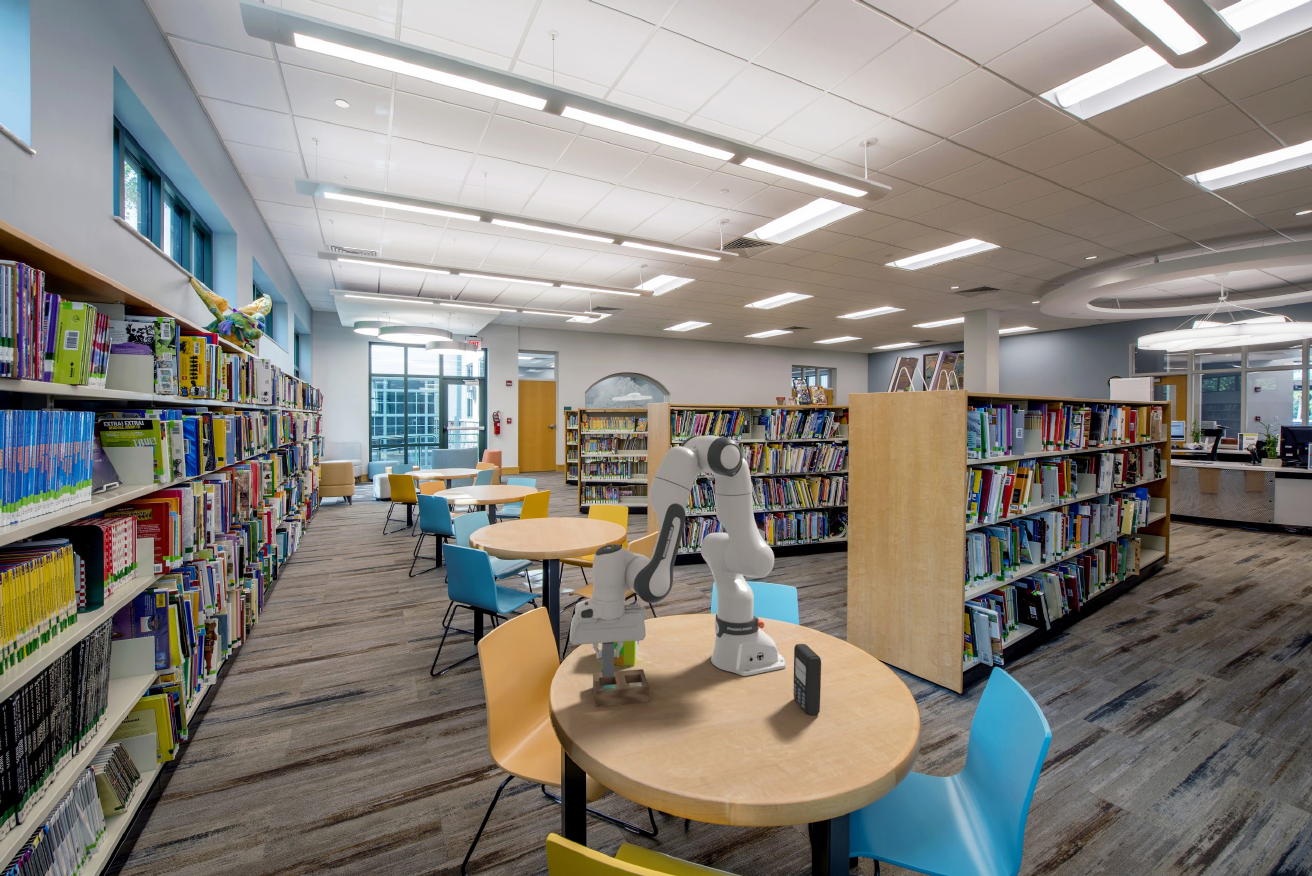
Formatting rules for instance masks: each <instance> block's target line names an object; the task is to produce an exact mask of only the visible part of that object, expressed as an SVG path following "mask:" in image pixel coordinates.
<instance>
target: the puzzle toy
mask: <svg viewBox="0 0 1312 876" xmlns="http://www.w3.org/2000/svg"><path fill="white" fill-rule="evenodd" d="M617 646H618V643H617V642H614V649H616V648H617ZM639 652H640V640H639V641H624V642H623V647H622V648H621V650H620V651H619V658H614V666H629V667H631V666H633V667H635V665H636V662H637V658H638V656H639Z"/></svg>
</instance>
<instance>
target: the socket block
mask: <svg viewBox="0 0 1312 876" xmlns="http://www.w3.org/2000/svg"><path fill="white" fill-rule="evenodd" d="M645 673H646V672H645V671H644V669H643V668H641V669H630V670H629V669H628V670H617V671H616V670H614V677H606V678H602V673H601V672H593V673H592V689H593V694H594V700H595V701H594V702H595V707H597V708H598V707H607V706H609V707H610V706H617V705H618V706H619V705H628V704H629V705H630V704H638V703H648V702H650V688H651V687H650V684H649V682H648V679H647V675H646V674H645Z"/></svg>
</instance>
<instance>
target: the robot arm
mask: <svg viewBox="0 0 1312 876" xmlns="http://www.w3.org/2000/svg"><path fill="white" fill-rule="evenodd" d="M742 452H743V451H742V450H741V447H740V445H739V444H738V443H737V442H736V441H735V440H734V439H732V438H730V437H726V436H718V435H709V434H708V435H693V436H690V437H687V438H686V439H685V440H684V441H682V443H681V444H680V446H679V445H677V446H676V445H675V446H673V447H671V448H669V449H668V450H667V452H666V453H665V455H664V456H663V459H661V462H660V464H659V465H658V467H657V470H656V472H655V474H654V476H653V480H652V482H651V484H650V488H649V491H648V492H649V493H648V502H649V506H650V507H651V508H652V510H653V511H654V513H655V516H656V518H657V520H658V526H659V527H658V533H657V536H656V538H655V539H656V540H655V544H654V546H653V550H652V553H651V557H650V558H649V557H648V556H646V555H644V554H641V553H636V552H633V551H630V550H628V549H626V548H625V547H623V546H622V545H620V544H618V543H617V544H616V543H615V544H607V545H604V546H601V547H600V548H598V549H597V550H596V551H595V552H594V556H593V561H592V569H591V570H592V571H591V572H592V575H591V576H592V577H591V581H592V585H593V589H592V592H591V597H590V598H587V599H585V600H581V601H579V602H577V603H576V604H575V607H574V612H575V613H574V614H573V616H572V618H571V621H570V622H571V623H570V629H569V630H570V631H569V642H570V644H572V646H573V645H574V646H578V645H590V644H592V648H593V649H594V651H595V653H596V660H602V655H603V653H602V649H599V644H602V643H610V642H617V643H618V646H617V648H616V649H614V658H619V651H620V650H621V648H622V647H623V642H624V641H639V642H640V641H644V639H645V638H646V637H647V636H646V635H647V634H646V624H645V620H646V619H647V609H646V607H644V606H642V605H641V604H636V605H630V604H629V605H628V604H627V605H626V592H627V591H632V592H634V593H635V594H636V595H637V597H639V598H640V599H641V601H643V602H646V603H647V604H655V603H656V604H657V603H659V602H661V601H662V600H664V599H665V598H666V597H667V596H668V595H669V594H670V592H671V591H672V587H673V585H674V584H673V583H674V569H675V562H676V559H677V555H678V551H679V548H680V543H681V540H682V537H683V532H684V528H685V523H686V510H687V505H688V500H689V497H690V495H691V491H692V489H693V486H694V483H695V482H694V481H695V480H696V478H697V476H698V475H699V474H701V473H704V474H712V475H713V478H714V481H715V483H714V484H715V485H714V490H715V491H714V492H715V494H714V495H715V513H716V518H717V520H718V522H719V523H720V524H721V525H722V526H723V528H724V529H725V531H726V532H711V533H708V534H707V535H706V536H704V538H703V540H702V542H701V545H700V554H701V556H702V558H703V560H704V561H705V562H706V564H707V565H708V567H709V569H710V572H711V573H712V577H713V580H714V585H715V588H716V612H717V613H716V614H715V620H714V633H715V638H714V639H715V640H714V646H713V652H712V654H711V657H710V662H711V663H712V665H714V666H715V667H716V668H717V669H720V670H723V671H726V672H730V673H734V674H737V675H740V676H742V677H747V676H753V675H757V674H762V673H767V672H773V671H777V670H783V669H785V668H786V660H785V658H784V657H783V655H782V654H780V653H779V652H778V647H777V644H776V642H775V641H774V640H773V638H772V637H771V636H770V635H768V634H767V632H764V631H763V630H762V629H763V628H765V626H766V624H765V622H764V621H763V620H762V619H759V617H757V616H755V615H754V602H755V601H754V600H755V599H754V597H755V595H754V591H753V590H752V588H751V586H750V585H749V584H748V583H747V581H746V579H745V577H747V578H758V579H760V578H765V577H768V575H769V574H770V573H771V572H772V570H773V568H774V566H775V554H774V551H773V550H772V548H771V547H770V545H768V543H766V540H764V538H763V536H762V534H761V533H760V531H759V528H758V525H757V522H756V519H755V515H754V505H753V504H754V503H753V502H754V501H753V486H752V479H751V478H752V476H751V471H750V467H749V464H748V462H747V460H746V459H745V458H744V457H743V453H742ZM744 576H745V577H744Z"/></svg>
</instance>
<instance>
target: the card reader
mask: <svg viewBox="0 0 1312 876" xmlns="http://www.w3.org/2000/svg"><path fill="white" fill-rule="evenodd" d="M821 679H822V658H821V657H820V656H819V655H818V654H817V653H816V652H815V650H813V649H812V648H810V646H809V645H807V644H806V643H797V644H795V646H794V649H793V698H794V700H795V701H796V703H797V705H799V706H800V707H801V709H802V710H803V711H804V713H806V714H807V715H809V716H815V715H816V716H817V715H818V714H820V709H821V688H822V687H821V686H822V685H821V683H822V680H821Z"/></svg>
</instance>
